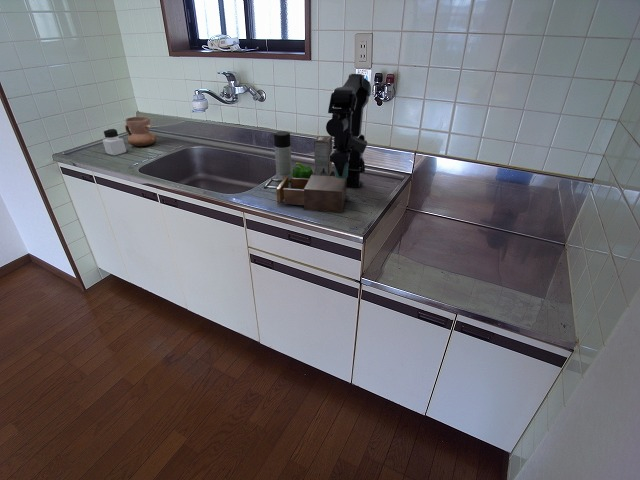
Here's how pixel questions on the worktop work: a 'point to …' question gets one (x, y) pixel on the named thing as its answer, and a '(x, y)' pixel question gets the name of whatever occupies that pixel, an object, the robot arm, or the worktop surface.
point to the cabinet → (325, 193)
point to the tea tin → (345, 172)
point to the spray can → (283, 155)
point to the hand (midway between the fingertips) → (341, 173)
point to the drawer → (289, 190)
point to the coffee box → (323, 155)
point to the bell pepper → (302, 171)
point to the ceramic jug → (139, 131)
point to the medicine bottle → (113, 142)
